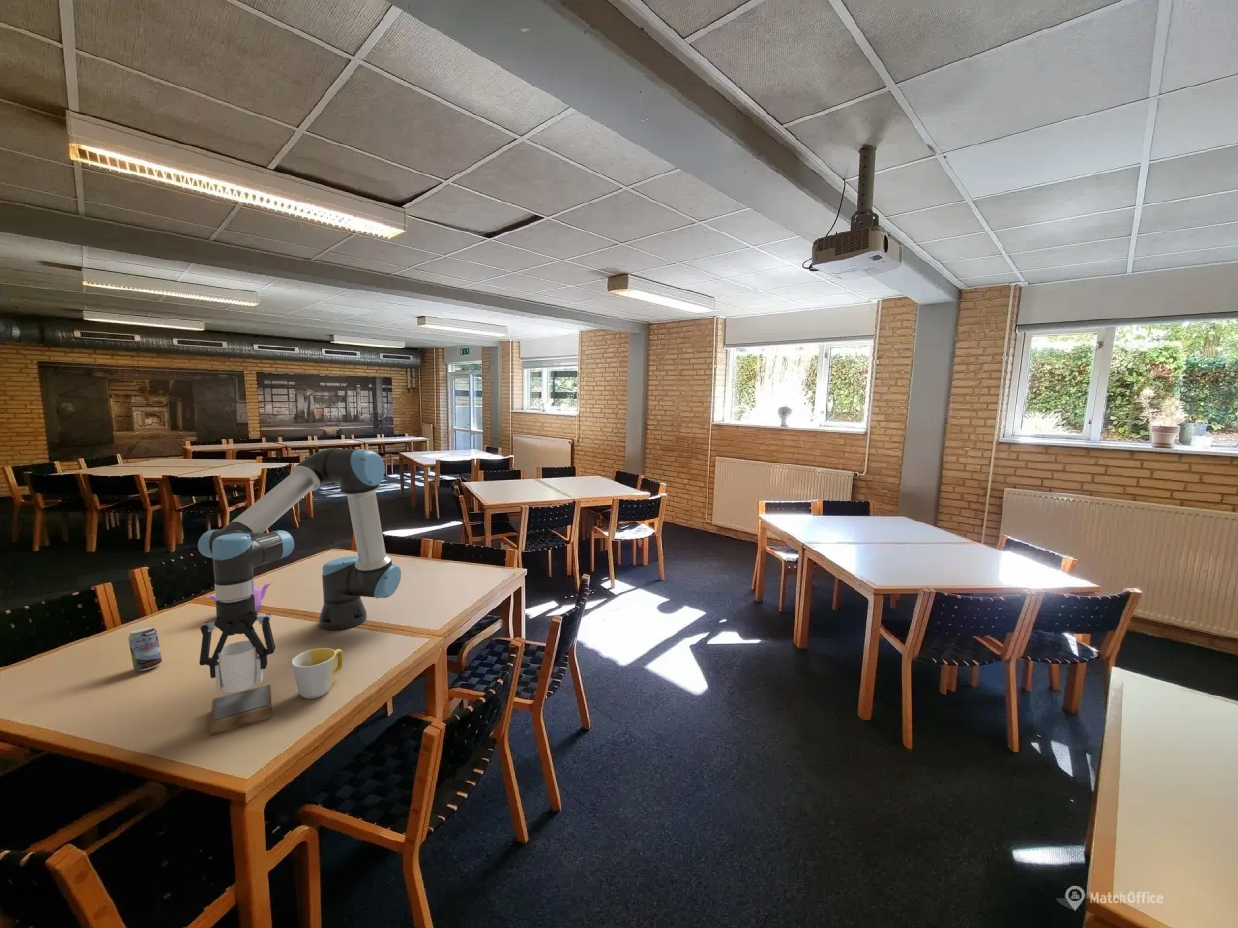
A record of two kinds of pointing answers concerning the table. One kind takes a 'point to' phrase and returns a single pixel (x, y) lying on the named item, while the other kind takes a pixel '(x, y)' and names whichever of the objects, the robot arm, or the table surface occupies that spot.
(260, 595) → the teapot
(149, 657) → the beverage can
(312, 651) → the mug
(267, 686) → the walnut picture frame
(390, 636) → the table surface
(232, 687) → the white cup
